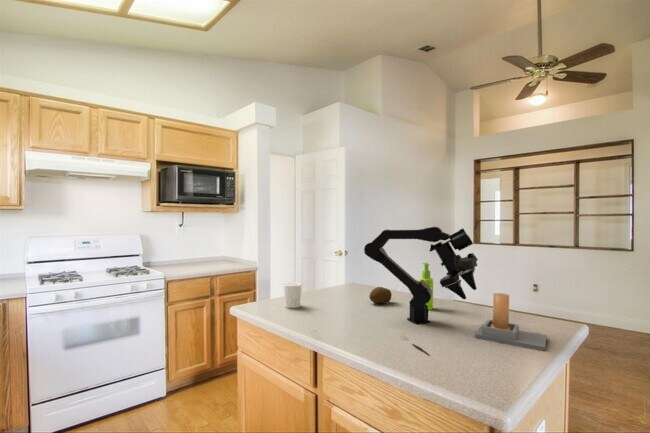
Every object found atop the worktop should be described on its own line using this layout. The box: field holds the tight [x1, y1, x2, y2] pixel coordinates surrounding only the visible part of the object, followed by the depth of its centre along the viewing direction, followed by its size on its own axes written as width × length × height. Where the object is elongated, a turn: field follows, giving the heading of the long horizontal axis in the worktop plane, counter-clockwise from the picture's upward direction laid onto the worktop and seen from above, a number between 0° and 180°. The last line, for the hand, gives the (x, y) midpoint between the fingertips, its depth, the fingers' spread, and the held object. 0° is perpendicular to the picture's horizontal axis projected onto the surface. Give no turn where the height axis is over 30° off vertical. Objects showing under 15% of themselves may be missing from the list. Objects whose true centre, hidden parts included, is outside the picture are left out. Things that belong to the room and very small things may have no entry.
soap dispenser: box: [418, 262, 434, 311], centre depth 154 cm, size 6×7×20 cm
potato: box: [369, 286, 392, 304], centre depth 162 cm, size 8×12×8 cm, turn 130°
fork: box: [398, 333, 430, 356], centre depth 109 cm, size 3×16×2 cm, turn 18°
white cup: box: [283, 282, 303, 309], centre depth 156 cm, size 8×8×10 cm
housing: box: [474, 319, 547, 352], centre depth 117 cm, size 20×13×4 cm, turn 55°
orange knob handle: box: [491, 292, 511, 331], centre depth 118 cm, size 6×6×13 cm
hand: (470, 294), depth 128 cm, fingers open, 9 cm apart
